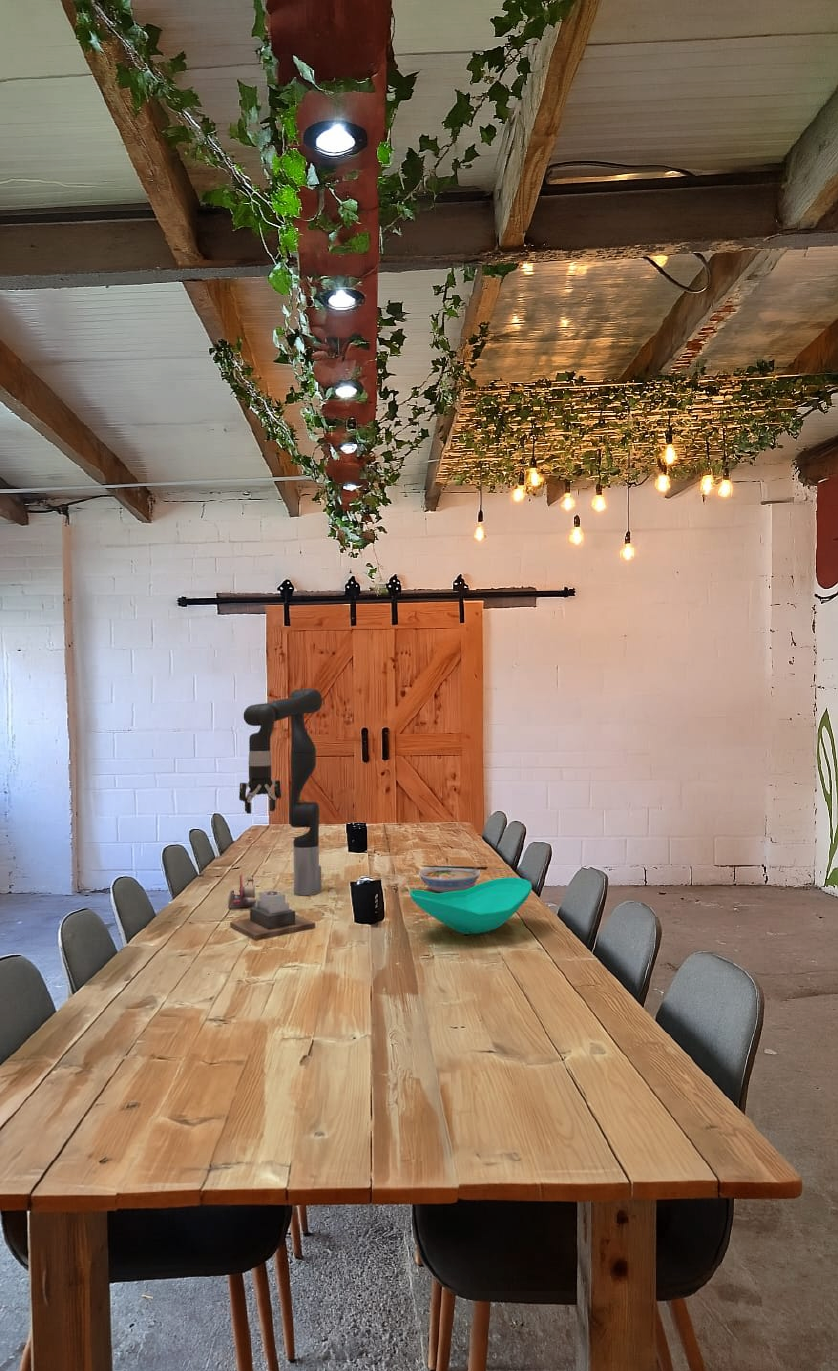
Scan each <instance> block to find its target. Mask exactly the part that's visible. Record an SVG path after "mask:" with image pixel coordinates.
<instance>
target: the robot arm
mask: <svg viewBox="0 0 838 1371" xmlns="http://www.w3.org/2000/svg"><path fill="white" fill-rule="evenodd" d="M322 704H323V697H322V694H321V692H320V691H319V690H318V689H316V688H303V689H302V688H301V689H294V690H292V692H291V693H290V696H289V697H288V698H287V697H285V698H279V699H275V700H272V701H270V702H265V703H257V704H251V705H249V706H248V707H246V708H245V710H244V712H243V720H244V722H245V724H246V725H249V726H251V727H260V728H259V730H258V732H254V733H251V734H250V736H249V739H248V740H249V741H248V743H249V744H248V747H249V748H248V750H249V753H248V782H240V783H239V793H238V794H239V795H238V798H239V801H242V802H243V803H244V811H245V813H246V814H248V815H251V814H252V800H253V798H255V796H256V795H257V796H259V795H266V796H268V798H269V812H274V811H275V810H276V806H277V805H276V804H277V802H276V800H277V799H280V798H282V793H281V792H282V791H281V781H280V780H278V779H274V780H272V752H271V738H272V734H273V729H274V725H275V722H278V721H280V720H283V719H286V718H289V717H290V728H291V730H290V731H291V732H290V733H291V736H290V737H291V739H290V740H291V741H290V743H291V744H290V793H289V796H290V798H289V808H288V809H289V810H288V820H289V821H288V822H289V824H290V827H292V828H309V830H308V831H307V832H306V833H304V834H301V835H298V836H297V837H295V838H294V839H293V844H292V845H293V894H295V896H296V895H297V896H313V895H317V894H318V893H322V865H320V842H319V839H320V837H319V835H320V833H319V832H320V831H319V828H320V806H319V804H318V802H316V801H300V799H301V795H302V794H301V793H302V791H303V789H304V787H305V786H306V783H307V782H308V781H309V778H310V777H311V776H312V774H313V773H314V771H315V769H316V767H317V766H316V765H317V762H316V761H317V760H316V759H317V749H316V745H315V743H314V742H313V739H312V738H311V736H310V734H309V733H308V731H307V728H306V726H305V719H304V718H305V717H304V716H305V714H314V713H317V712H319V711H320V710H321V708H322ZM271 787H273V790H272V789H271ZM248 788H249V791H248V792H247V790H248Z"/></svg>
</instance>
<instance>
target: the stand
mask: <svg viewBox="0 0 838 1371" xmlns="http://www.w3.org/2000/svg"><path fill="white" fill-rule="evenodd" d="M229 927H230V928H231V929H233V930H235V931H236V932H238V933H241V934H242V935H245V936H246V937H248V938H251V939H252V940H254V941H259V940H264V939H269V938H273V937H279V936H283V935H287V934H292V933H296V932H301V931H306V930H310V929H311V930H312V929H315V928H316V923H315V922H314V921H311V920H309V919H307V918H305V917H303V916H300V915H297V914H296V911H295V910H293V909H291V908H289V911H287V912H282V913H276V914H271V915H270V914H269V913H268V912H266V911H264V910H262V909H260V908H258V909H257V908H256V906H253V907H252V908H250V910H249V918H245V919H239V920H234V921H230V922H229Z"/></svg>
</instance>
